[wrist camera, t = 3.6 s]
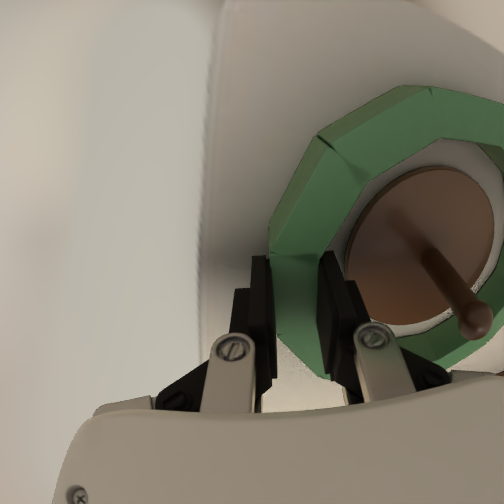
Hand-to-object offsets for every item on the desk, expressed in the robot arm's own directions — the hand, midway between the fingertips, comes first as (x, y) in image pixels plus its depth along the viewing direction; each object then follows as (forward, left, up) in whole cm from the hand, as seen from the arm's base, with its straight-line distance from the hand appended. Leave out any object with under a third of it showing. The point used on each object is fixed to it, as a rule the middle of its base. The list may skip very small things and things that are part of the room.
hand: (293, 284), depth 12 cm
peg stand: (0, +7, -2) cm, 7 cm away
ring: (0, +7, -2) cm, 7 cm away
